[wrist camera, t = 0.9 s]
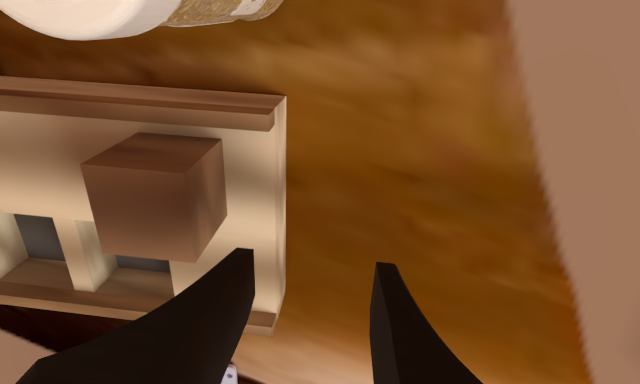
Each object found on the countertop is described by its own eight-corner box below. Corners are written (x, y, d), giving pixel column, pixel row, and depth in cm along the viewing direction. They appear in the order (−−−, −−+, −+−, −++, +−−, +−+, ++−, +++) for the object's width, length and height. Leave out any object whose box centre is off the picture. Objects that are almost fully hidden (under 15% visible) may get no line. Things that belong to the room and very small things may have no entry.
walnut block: (227, 215, 21) (195, 263, 17) (151, 207, 22) (102, 253, 18) (222, 138, 19) (184, 173, 15) (138, 132, 20) (79, 164, 16)
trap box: (285, 291, 27) (272, 337, 24) (-46, 254, 29) (-106, 290, 26) (286, 95, 21) (268, 115, 17) (-133, 66, 23) (-230, 78, 19)
